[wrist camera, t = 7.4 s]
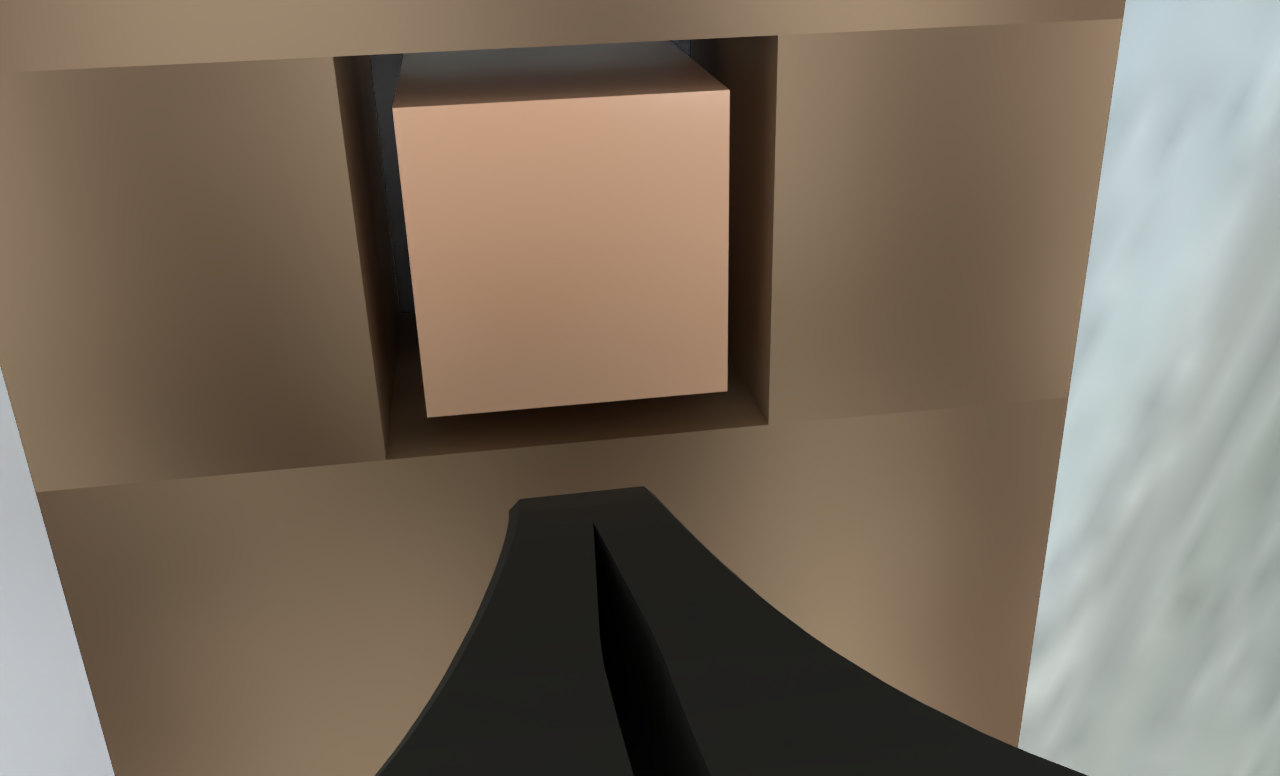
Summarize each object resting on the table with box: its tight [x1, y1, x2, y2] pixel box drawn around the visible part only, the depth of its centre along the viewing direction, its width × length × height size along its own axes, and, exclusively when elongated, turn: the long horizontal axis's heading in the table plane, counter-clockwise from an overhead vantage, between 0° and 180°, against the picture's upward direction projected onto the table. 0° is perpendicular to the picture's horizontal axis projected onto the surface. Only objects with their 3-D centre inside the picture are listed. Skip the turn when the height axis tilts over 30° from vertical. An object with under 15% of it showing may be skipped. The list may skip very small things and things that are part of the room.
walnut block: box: [0, 0, 1126, 776], centre depth 20 cm, size 14×24×6 cm, turn 2°
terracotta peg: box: [392, 41, 730, 418], centre depth 17 cm, size 4×4×5 cm
